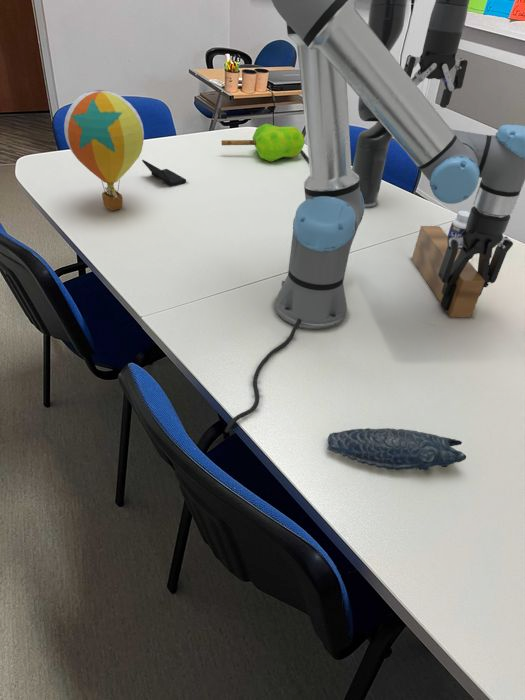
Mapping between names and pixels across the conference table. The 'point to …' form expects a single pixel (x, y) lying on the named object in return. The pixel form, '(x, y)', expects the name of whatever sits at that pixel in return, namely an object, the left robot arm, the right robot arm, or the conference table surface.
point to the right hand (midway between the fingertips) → (425, 106)
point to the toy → (105, 138)
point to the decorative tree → (273, 142)
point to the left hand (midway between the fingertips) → (455, 307)
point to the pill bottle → (459, 224)
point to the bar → (429, 263)
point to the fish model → (395, 448)
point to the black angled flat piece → (165, 175)
